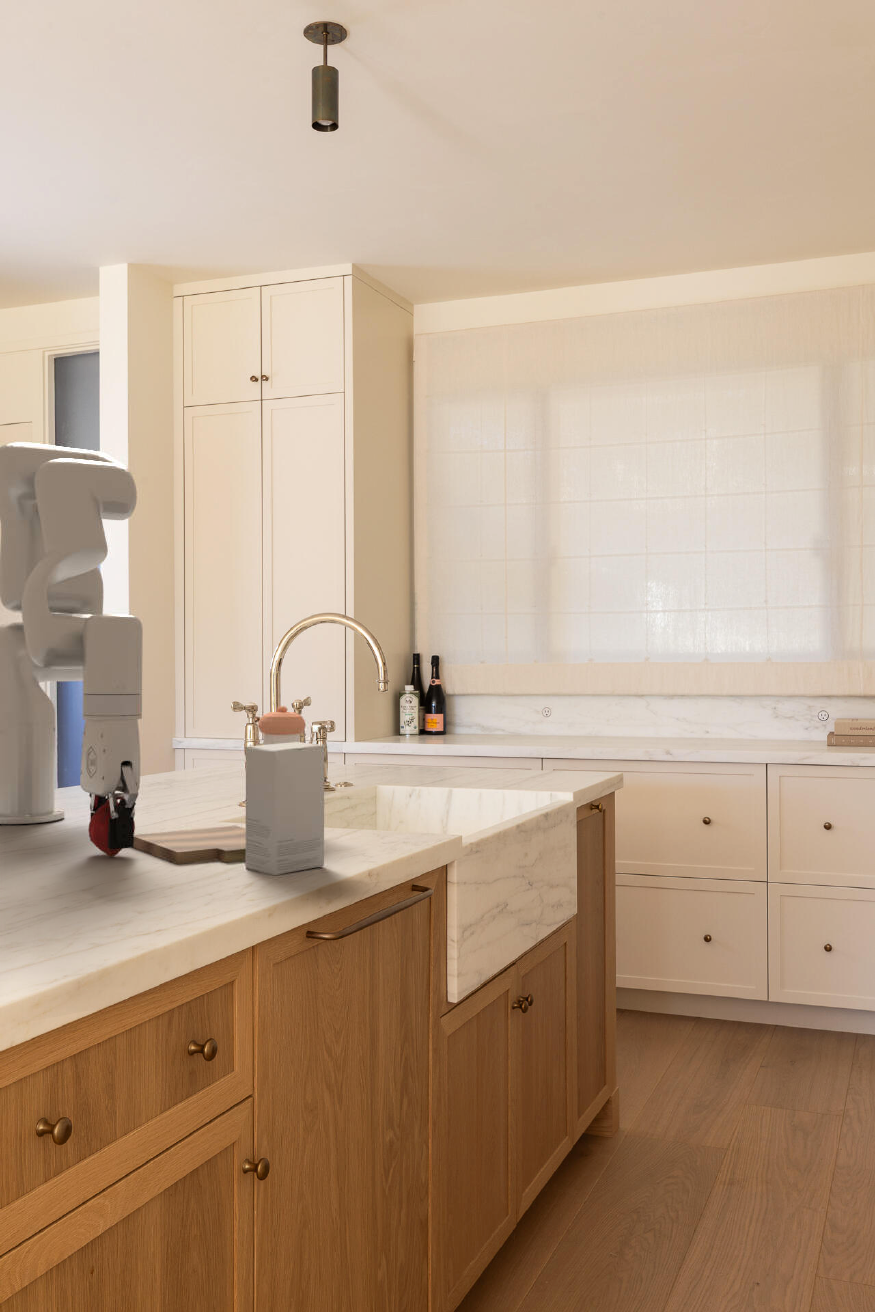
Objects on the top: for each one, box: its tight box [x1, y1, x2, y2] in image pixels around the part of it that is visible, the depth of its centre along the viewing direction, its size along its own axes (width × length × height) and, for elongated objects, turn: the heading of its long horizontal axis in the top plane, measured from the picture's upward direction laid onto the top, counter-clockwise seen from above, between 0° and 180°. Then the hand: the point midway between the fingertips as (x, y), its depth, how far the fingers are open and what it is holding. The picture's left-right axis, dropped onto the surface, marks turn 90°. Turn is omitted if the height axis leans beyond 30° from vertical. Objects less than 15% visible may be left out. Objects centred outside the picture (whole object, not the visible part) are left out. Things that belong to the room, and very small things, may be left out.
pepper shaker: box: [257, 705, 307, 745], centre depth 164 cm, size 7×7×19 cm
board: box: [132, 825, 246, 865], centre depth 150 cm, size 18×16×2 cm
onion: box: [88, 799, 136, 857], centre depth 145 cm, size 6×6×8 cm
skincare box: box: [244, 741, 326, 877], centre depth 138 cm, size 8×7×16 cm
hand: (111, 843), depth 145 cm, fingers closed on onion, 5 cm apart
